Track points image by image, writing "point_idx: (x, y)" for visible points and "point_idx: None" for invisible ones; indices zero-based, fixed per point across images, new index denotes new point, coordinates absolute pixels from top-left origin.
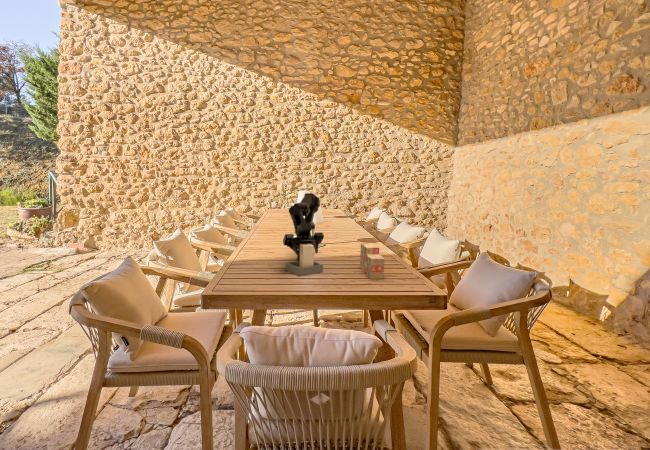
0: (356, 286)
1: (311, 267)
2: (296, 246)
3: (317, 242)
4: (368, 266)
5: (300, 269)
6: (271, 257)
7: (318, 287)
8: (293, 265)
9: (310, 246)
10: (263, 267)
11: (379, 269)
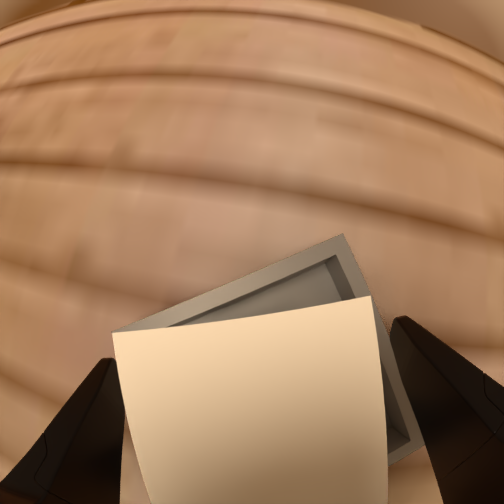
0: (87, 56)
1: (228, 283)
2: (464, 392)
3: (23, 482)
4: None
5: (337, 237)
6: None
7: (252, 44)
8: (385, 351)
9: (191, 326)
10: None
11: None
